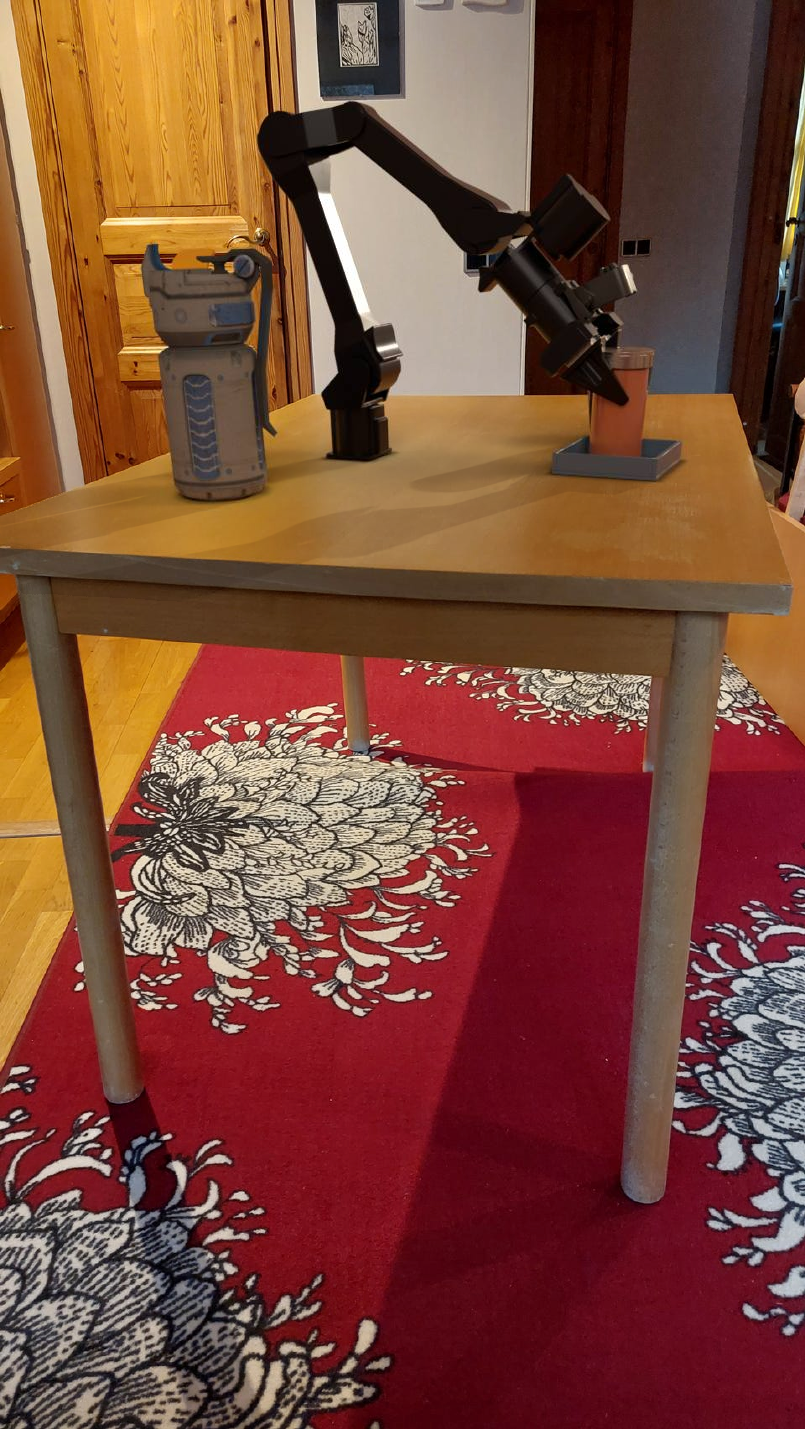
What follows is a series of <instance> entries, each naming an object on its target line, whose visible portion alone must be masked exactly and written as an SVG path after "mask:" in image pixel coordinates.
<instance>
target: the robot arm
mask: <svg viewBox="0 0 805 1429" xmlns="http://www.w3.org/2000/svg"><path fill="white" fill-rule="evenodd" d="M256 145H257V149H258V152H259V154H260V156H261V159H262V160H263V163H264V164H265V166H266V168H267V170H268V171H269V173H270V176H271V177H272V179H273V181H274V183H276V184H277V186H278V187H279V189H280V190H281V191H282V192H283V193H284V195H285V196H286V197H287V198H288V200H289V201H290V203H291V205H292V207H293V209H294V213H295V215H296V218H297V220H298V223H299V226H300V229H301V232H302V235H303V238H304V241H305V244H306V247H307V250H308V252H309V255H310V258H311V262H312V264H313V268H314V270H315V273H316V276H317V278H318V282H319V285H320V287H321V290H322V293H323V296H324V299H325V302H326V305H327V307H328V310H329V313H330V316H331V318H332V321H333V326H334V339H333V343H334V344H333V354H334V360H335V365H336V370H337V371H336V372H337V373H336V374H335V375H334V376H333V378H332V379H331V380H330V381H329V383H328V384H327V385H326V386H325V387H324V388H323V390H322V391H321V393H320V397H321V399H322V401H323V404H324V407H325V409H326V410H327V411H329V418H330V434H331V435H330V436H331V451H328V452H326V453H325V457H326V458H332V459H347V460H359V461H360V460H362V461H371V460H373V459H376V458H379V457H382V456H384V455H387V454H389V453H392V452H393V448H392V447H390V441H389V440H390V439H389V438H390V437H389V418H388V417H387V416H386V414H385V404H384V403H385V402H386V401H387V400H388V396H389V393H390V390H391V388H392V387H393V386H394V385H395V384H396V383H397V381H398V379H399V377H400V374H401V372H402V363H401V360H400V357H403V356H404V353H403V351H402V350H401V349H400V347H399V345H398V343H397V340H396V334H395V328H394V326H393V324H392V323H391V322H387V323H382V324H380V323H379V322H378V320H377V318H375V316H374V315H373V313H372V312H371V310H370V307H369V304H368V300H367V298H366V295H365V291H364V289H363V286H362V283H361V280H360V278H359V274H358V270H357V269H356V265H355V262H354V259H353V256H352V252H351V251H350V247H349V244H348V241H347V239H346V235H345V232H344V229H343V226H342V223H341V221H340V217H339V215H338V211H337V208H336V206H335V202H334V200H333V197H332V193H331V174H332V169H331V168H332V164H331V163H332V162H331V158H330V157H332V156H336V155H339V154H342V153H344V152H347V151H349V150H352V149H354V148H356V149H357V150H358V151H360V152H361V153H362V154H363V155H365V156H366V157H367V158H368V159H370V160H371V161H372V162H373V163H375V164H376V165H377V166H378V167H379V168H381V169H382V170H383V171H384V172H386V174H388V175H389V176H390V177H391V178H393V179H394V180H395V181H397V183H399V185H401V186H403V187H404V188H405V189H406V190H407V191H409V192H410V193H411V194H412V195H413V196H415V197H416V198H417V199H418V200H419V201H421V202H422V203H423V204H424V205H425V206H427V208H428V209H429V210H430V211H431V212H432V213H433V216H434V217H435V218H436V220H437V221H438V223H439V225H440V227H441V228H442V229H443V230H444V232H445V233H446V234H447V235H448V236H449V238H450V239H451V240H452V241H453V242H454V244H455V245H456V246H457V247H458V248H459V249H460V250H461V251H462V252H464V253H466V254H468V255H472V256H487V255H496V254H499V256H498V257H497V258H496V259H495V260H494V261H493V262H492V264H491V265H490V266H488V265H482V266H481V265H480V266H479V267H478V269H477V271H478V275H479V277H478V278H479V279H478V286H477V291H478V292H479V293H481V294H482V293H488V292H489V293H490V292H492V291H493V290H494V289H495V287H496V286H497V285H498V286H499V288H500V289H502V291H503V293H505V295H506V296H507V297H508V298H509V299H510V300H511V301H512V303H513V304H514V305H515V306H516V307H517V308H518V311H520V312H521V313H522V314H523V315H524V317H525V318H524V319H523V322H524V324H525V325H526V326H527V328H532V327H534V328H535V329H536V331H537V332H538V333H539V335H540V336H541V337H542V338H543V339H544V340H545V341H546V342H547V345H546V346H544V348H542V350H541V351H540V352H539V355H538V356H539V357H538V358H539V359H538V366H539V367H540V369H542V371H543V372H544V373H545V374H546V376H547V377H548V378H549V379H552V378H554V377H556V376H557V375H558V374H559V373H560V369H561V368H562V367H564V366H566V367H567V369H566V370H565V371H564V372H563V373H562V374H561V375H559V378H558V379H560V380H561V381H565V382H568V383H570V384H572V385H573V386H577V387H579V388H581V389H583V390H586V391H587V392H588V391H590V392H592V393H595V394H597V395H599V396H601V397H603V398H605V399H607V400H609V401H611V402H613V403H616V404H618V405H620V406H624V405H625V404H626V403H627V402H628V401H629V397H628V395H627V393H626V392H625V390H624V388H623V386H622V385H621V383H620V381H619V380H618V378H617V376H616V375H615V373H614V371H613V370H612V368H611V367H610V365H609V363H608V362H607V360H606V358H605V347H621V340H622V334H623V329H622V327H623V325H625V323H624V322H623V321H622V319H621V318H620V317H619V316H618V314H617V313H616V312H614V311H603V310H601V308H604V307H606V306H608V305H610V304H612V303H614V302H617V301H618V300H622V299H624V298H629V297H631V296H633V295H635V294H637V293H638V290H637V288H636V285H635V280H634V274H633V273H632V272H631V269H630V267H629V265H628V264H621V265H618V264H617V263H616V262H611V263H609V264H608V265H606V266H604V267H600V269H599V272H598V276H596V277H594V278H592V279H590V280H588V281H586V282H583V283H582V284H580V285H579V284H578V282H577V281H576V280H574V279H567V280H566V279H565V277H564V276H563V275H562V274H561V273H560V272H559V270H558V269H557V268H556V267H555V265H553V263H552V262H551V261H550V259H549V258H547V256H546V255H545V254H544V253H543V251H544V252H545V253H546V254H547V255H548V256H549V257H551V258H552V259H553V260H554V261H556V262H559V261H561V259H562V258H563V257H564V258H565V259H567V260H568V261H571V262H572V261H573V260H574V259H575V258H576V257H577V256H578V255H579V254H580V253H581V252H582V251H583V249H585V248H586V246H587V245H589V243H590V242H591V241H593V239H594V238H596V235H598V234H599V233H600V232H601V231H602V230H603V229H604V227H605V226H606V225H608V224H609V222H610V221H611V217H610V215H609V213H608V212H607V210H606V209H605V208H604V206H603V205H602V204H601V203H600V201H599V200H598V199H597V198H596V197H595V195H593V194H590V193H589V191H587V190H586V189H585V188H584V187H583V186H582V185H581V184H580V183H578V182H577V181H576V179H575V178H574V177H573V176H572V175H571V174H569V173H563V174H561V176H560V177H559V178H558V179H557V181H556V182H555V183H554V185H553V188H551V190H550V191H549V193H548V194H547V195H546V196H545V197H544V198H543V199H542V200H541V201H540V203H539V204H538V205H537V206H536V207H535V208H534V209H533V211H529V210H518V211H516V212H514V211H513V209H512V208H511V207H510V205H509V204H507V203H506V202H505V201H503V200H502V199H500V198H498V197H496V196H494V195H492V194H490V193H488V192H486V191H485V190H482V189H480V188H478V187H476V186H474V185H472V184H470V183H468V182H466V181H463V180H462V179H460V178H457V177H456V176H454V175H452V174H451V173H450V172H449V171H448V170H447V169H445V168H444V167H443V166H441V165H440V164H439V163H438V162H437V161H436V160H434V159H433V158H432V157H431V156H429V155H428V154H427V153H425V152H424V151H423V150H422V149H421V148H419V147H418V146H417V145H416V144H415V143H414V142H412V141H411V140H409V139H408V137H406V136H405V135H403V133H402V132H400V131H399V130H398V129H396V128H395V127H393V125H391V124H390V123H389V122H387V121H386V120H385V119H383V117H382V116H380V114H379V113H378V111H377V110H376V109H375V108H374V107H373V106H371V105H370V104H369V105H368V104H367V103H362V102H359V101H356V100H348V101H346V102H343V103H342V104H337V105H335V106H331V107H325V108H320V109H319V108H318V109H313V110H308V111H302V112H298V113H295V112H291V111H285V110H274V111H272V112H270V113H269V114H267V115H266V116H265V117H264V118H263V120H262V122H261V124H260V127H259V130H258V133H257V134H256ZM521 238H524V239H523V241H521V243H520V244H518V245H517V247H516V248H512V247H510V246H509V245H510V244H511V242H512V241H513V240H517V239H521ZM536 243H538V245H539V246H540V247H541V248H542V250H543V251H542V250H541V249H540V248H539V247H538V246H537V244H536ZM382 403H383V404H382Z"/></svg>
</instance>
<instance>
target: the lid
mask: <svg viewBox="0 0 805 1429" xmlns="http://www.w3.org/2000/svg"><path fill="white" fill-rule="evenodd" d="M655 351H656V350H655V348H651V347H644V346H642V347H641V346H620V347H605V358H606V360H607V362H608V363H609V365H610V367H611V368H612V369H639V368H648V367H652V366H653V367H654V366H655V358H656V357H655V356H656V352H655Z"/></svg>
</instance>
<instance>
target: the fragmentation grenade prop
mask: <svg viewBox="0 0 805 1429" xmlns="http://www.w3.org/2000/svg"><path fill="white" fill-rule="evenodd" d="M196 259H197V260H198V261H200V262H202V263H209V264H210V263H211V264H212V265H213V268H212V267H211V268H210V267H208V268H201V269H174V270H172V268H170V267H167V266H166V265H164V263H163V261H162V259H161V257H160V252H159V243H152V244H147V245H146V249H145V251H144V254H143V258H142V262H141V266H140V271H141V279H142V287H143V295H144V296H145V297H146V298H148V305H149V307H150V309H151V311H152V312H151V313H152V319H153V329H154V332H155V333H156V334H157V335H158V337H159V338H160V340H161V341H162V342H163V344H164V345H165V346H167V347H166V348H164V349H163V350H161V351H160V352H159V353H158V354H157V360H158V368H159V369H158V370H159V377H160V383H161V391H162V399H163V408H164V414H165V415H164V416H165V423H166V431H167V437H168V445H169V454H170V460H171V461H170V462H171V468H172V469H171V470H172V477H173V483H174V484H173V485H174V486H175V488H176V489H177V491H178V492H179V494H180V495H182V496H183V497H184V496H185V497H187V498H190V499H192V500H196V501H204V502H205V501H206V502H219V501H220V502H221V501H231V500H238V499H243V498H247V497H250V496H253V495H255V494H256V493H258V492H260V491H262V490H263V489H264V488H265V485H266V483H267V481H268V470H267V459H266V446H265V437H264V430H265V431H266V432H267V433H268V434H270V435H271V436H272V437H274V438H276V435H277V434H278V431H277V429H275V427H274V426H273V425H272V423H271V421H270V408H269V407H270V406H269V392H268V391H269V390H268V377H267V365H268V364H267V363H268V353H269V352H268V351H269V340H270V329H271V318H272V305H273V304H272V303H273V294H274V278H273V277H274V276H273V262H272V260H271V259H270V258H269V257H267V256H266V255H265V254H263V253H262V252H261V251H259V250H258V249H256V248H254V247H252V248H231V249H229V250H228V252H226V253H225V254H223V255H214V256H196ZM232 261H233V264H232V265H233V272H230V273H229V270H228V269H226V265H227V263H232ZM259 279H260V284H261V286H260V303H259V316H258V330H257V343H256V344H257V346H256V349H255V348H254V347H253V346H251V345H248V344H247V343H245V342H248V339H249V337H250V336H251V333H252V331H253V329H254V327H255V322H256V311H255V302H254V301H253V299H252V291H253V289H254V288H255V286H256V285H257V283H258V281H259Z"/></svg>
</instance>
